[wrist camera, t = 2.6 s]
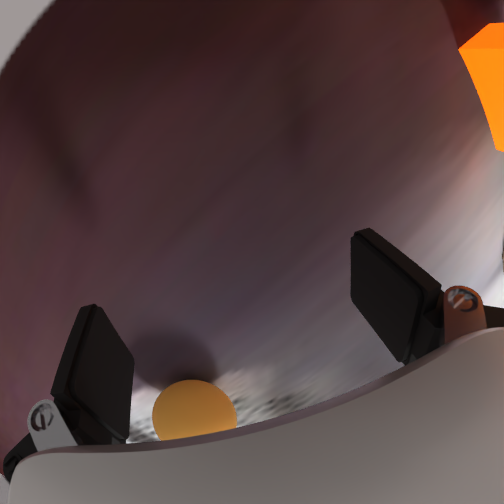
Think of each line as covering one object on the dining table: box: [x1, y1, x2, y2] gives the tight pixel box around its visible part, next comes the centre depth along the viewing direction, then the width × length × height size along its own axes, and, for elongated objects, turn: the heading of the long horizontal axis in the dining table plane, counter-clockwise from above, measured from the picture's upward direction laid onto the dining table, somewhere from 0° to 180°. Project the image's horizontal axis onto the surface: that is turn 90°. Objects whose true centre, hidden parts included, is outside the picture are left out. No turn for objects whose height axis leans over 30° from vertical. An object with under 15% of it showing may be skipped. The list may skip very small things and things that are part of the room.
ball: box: [152, 380, 237, 441], centre depth 16 cm, size 6×6×6 cm
